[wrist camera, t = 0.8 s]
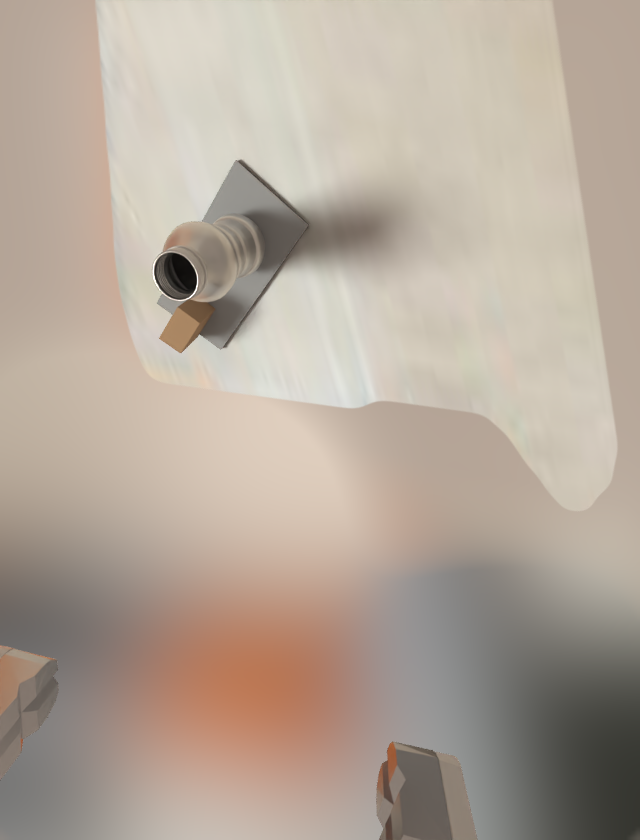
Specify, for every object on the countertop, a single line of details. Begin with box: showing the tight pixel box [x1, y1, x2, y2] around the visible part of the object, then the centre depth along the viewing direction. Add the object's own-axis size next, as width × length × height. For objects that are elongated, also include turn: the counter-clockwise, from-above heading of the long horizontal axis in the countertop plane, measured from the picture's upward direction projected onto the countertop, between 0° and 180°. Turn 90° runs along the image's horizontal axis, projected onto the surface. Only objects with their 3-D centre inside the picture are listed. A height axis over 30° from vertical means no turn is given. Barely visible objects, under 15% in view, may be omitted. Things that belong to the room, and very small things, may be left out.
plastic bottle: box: [152, 213, 265, 302], centre depth 37 cm, size 6×7×20 cm
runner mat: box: [157, 160, 309, 353], centre depth 45 cm, size 20×10×6 cm, turn 141°
